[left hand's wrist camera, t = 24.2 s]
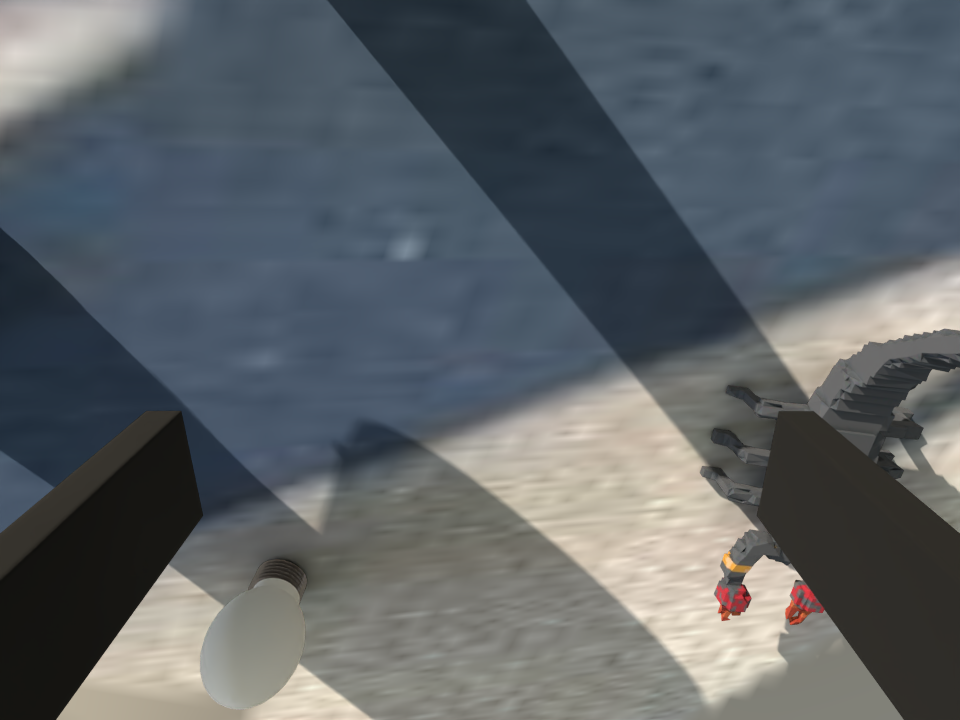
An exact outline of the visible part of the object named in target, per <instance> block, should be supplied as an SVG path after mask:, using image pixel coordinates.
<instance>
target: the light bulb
mask: <svg viewBox="0 0 960 720" xmlns="http://www.w3.org/2000/svg"><path fill="white" fill-rule="evenodd" d="M306 584H307V578H306V575H305V573H304V572H303V571H302V570H301V569H300V568H299V567H298V566H297V565H295V564H293V563H291V562H289V561H285V560H279V559H276V560H269V561H266V562H264V563H263V564H262V565H260V567H259V568H258V570H257V572H256V574H255V576H254V578H253V580H252V582H251V584H250V586H249V588H248V591H245V592H243V593H241V594H240V595H238V596H237V597H235V598H234V599H232V600H231V601H230V602H229V603H228V604H227V605H226V606H225V607H224V608H223V609H222V610H221V611H220V612H219V613H218V615H217V616H216V618H215V619H214V621H213V622H212V624H211V626H210V627H209V629H208V631H207V634H206V636H205V638H204V642H203V646H202V650H201V655H200V673H201V677H202V682H203V685H204V687H205V689H206V691H207V692H208V694H209V695H210V697H211V698H212V699H213V700H214V701H215V702H217V703H218V704H220V705H222V706H224V707H227V708H231V709H248V708H251V707H254V706H257V705H260V704H262V703H264V702H266V701H267V700H269V699H270V698H271V697H273V696H274V695H275V694H276V693H278V692H279V691H280V690H281V689H282V688H283V687H284V685H285V684H286V683H287V682H288V680H289V679H290V677H291V676H292V674H293V673H294V671H295V670H296V668H297V665H298V663H299V661H300V658H301V655H302V652H303V648H304V644H305V631H306V627H305V621H304V616H303V612H302V610H301V608H300V606H299V604H300V601H301V598H302V596H303V593H304V590H305V588H306Z"/></svg>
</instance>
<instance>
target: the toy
mask: <svg viewBox="0 0 960 720" xmlns="http://www.w3.org/2000/svg"><path fill="white" fill-rule="evenodd" d="M956 367H960V331H957V330H950V329H943V330H940V331H933V333H927V332H924V333H923V335H920V334H914V335H913V336H907V335H905V336H904V338H903V339H901V338H899V339H897V340H896V341H895V340H889V341H888V342H887V343H884V344H883V343H876V342H869V343H868V345H865V344H864V347H863V349H862V352H858V353H857V355H854V354H853V355H852V357H851V358H849V359H847V360H843V359H840V360H839V361H838V362H837V364H836V365H835V366H834V367H833V368H832V370H831V372H830V374H829V375H828V377H827V378H826V380H825V381H824V383H823V385H822V386H821V387H817V389H816V390H815V392H814V393H813V395H812V397H811V398H810V400H809V401H808V403H807V404H796V403H784V402H780V401H775V400H769V399H764V398H760V397H758V396H756V395H755V394H754V393H753V392H752V391H751V390H749V389H748V388H744V387H736V386H728V388H727V391H726V393H727V394H730V395H732V396H734V397H736V398H739V399H742V400H744V401H745V402H746V403H747V404H748V405H749V406H750V407H751V408H752V409H753V410H754V411H755V414H756V415H757V416H758V417H762V418H772V419H776V420H777V417H778V412H779V411H814V412H815V413H817V414H818V415H819V416H820V417H821V418H823V419H824V420H825V421H826V422H827V423H829V424H830V425H831V426H832V427H833V428H834V429H836V430H837V431H838V432H839V433H840V434H842V435H843V436H844V437H845V438H846V439H848V440H849V441H850V442H851V443H852V444H854V445H855V446H856V447H857V448H858V449H860V450H861V451H862V452H863V453H864V454H865V455H867V456H868V457H869V458H870V459H871V460H873V461H874V462H875V463H876V464H877V465H879V466H880V467H881V468H882V469H883V470H885V471H886V472H887V473H888V474H889V475H891V476H892V477H893V478H894V479H897V478H901V476H902V474H903V471H904V470H903V469H901V468H900V467H899V466H898V465H896V464H895V463H894V462H893V461H891V460H892V459H893V458H894V457H895V456H894V455H893V454H892V453H891V452H889V451H887V450H881V448H882V445H883V443H884V441H885V438H886V437H894V438H905V439H919V437H920V435H921V433H922V430H923V427H921V426H919V425H918V424H916V423H914V422H913V421H911V418H912V416H913V415H914V414H913V413H912V412H911V411H910V410H908V409H904V408H896V407H895V406H897V407H898V406H899V404H900V402H901V401H902V400H905V399H906V397H907V394H908V392H909V391H910V390H912V389H914V388H915V387H916V386H917V385H918V384H921V382H922V381H926V380H927V377H928V375H929V373H930V371H931V370H932V369H935V370H940V371H945V372H949V371H950V369H955V368H956ZM711 440H712V441H713V443H716V444H720V445H723V446H727V447H729V448H730V449H731V450H733V451H734V452H735V454H736V455H737V456H738V457H739V458H740V459H741V460H742V461H743V462H745V463H746V464H752V465H759V466H766V467H767V465H768V460H769V455H770V450H765V449H760V448H754V447H750V446H745V445H743V443H741V442H740V440H739V439H738V438H737V436H736V435H735V434H734V433H732V432H731V431H729V430H721V429H714V431H713V434H712V437H711ZM700 473H701V475H702V477H706V478H710V479H713V480H716V482H717V483H718V485H719V486H720V487H721V489H722V490H723V492H724V493H725V494H726V496H727V497H728V499H729V500H730V501H734V502H739V503H743V504H749V505H755V506H759V503H760V498H761V493H762V489H763V488H757V487H754V486H750V485H745V484H739V483H734V482H733V481H732V480H731V479H729V478H728V477H727V476H726V474H725V473H724V472H723V470H722V469H721V468H714V467H706V466H702V468H701V471H700ZM763 555H766V556H767V557H768V558H769V559H774V560H775V561H778V562H782V563H784V564H785V565H788V564H790V563H791V562H790V561H789V559H788V558H787V557H786V555H785V554H784V552H783V551H782V550H781V548H780V547H779V546H778V544H777V543H776V541H775V540H774V539H773V537H772V536H771V534H769V533H768V532H762V531H756V530H749V531H748V532H745V534H744V536H743V538H742V539H739V538H738V540H737V542H736V544H735V546H734V547H732V549H731V550H730V551H729V552H728V554H724V557H723V560H722V562H721V565H720V567H721V568H722V570H723V572H724V578H722V580H721V581H719V583H718V585H717V588H716V590H715V593H714V595H715V596H716V598H717V599H718V601H719V602H720V604H721V605H720V608H719V611H718V613H721V618H722V621H726V620H730V619H728V616H729V615H730V614H731V613H732V615H740V614H741V612H745V611H746V608H748V606H749V603H750V601H751V596H750V594H749V592H748V591H747V589H746V587H745V585H742V581H743V579H744V577H745V574H746V573H747V572H748V571H749V570H750V569H751V568H752V566H753V565H754V564H755V563H756V562H757V561H758V560H759V559H760V558H761V557H762V556H763ZM790 597H791V598H792V600H791V603H790V606H789V607H788V608H787V609H786V612H785V615H786V619H788V618H789V621H790V625H796V624H799V623H801V622H802V621H803V620H804V619H805V618H806V617H807V615H809V614H810V613H812V612H818V613H823V611H824V608H823V607H822V605H821V604H820V602H819V601H818V600H817V598H816V597H815V595H814V594H813V593H812V591H811V590H810V589H809V587H808V586H807V584H806V583H805V582H804V580H803V581H800V580H795V584H794V587H793V589H792V592H791V594H790ZM797 611H799V613H798V616H796V617H792V616H793V615H794V614H795V613H796V612H797Z"/></svg>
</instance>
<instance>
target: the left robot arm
mask: <svg viewBox="0 0 960 720" xmlns="http://www.w3.org/2000/svg"><path fill="white" fill-rule="evenodd" d="M202 516H203V513H202V508H201V503H200V498H199V493H198V489H197V484H196V479H195V474H194V470H193V465H192V460H191V455H190V450H189V446H188V441H187V436H186V431H185V427H184V422H183V417H182V412H181V411H146V412H145V413H143V414H142V415H141V416H140V417H139V418H137V419H136V420H135V421H134V422H133V423H131V424H130V425H129V426H128V427H127V428H126V429H124V430H123V431H122V432H121V433H120V434H118V435H117V436H116V437H115V438H114V439H112V440H111V441H110V442H109V443H108V444H106V445H105V446H104V447H103V448H102V449H100V450H99V451H98V452H97V453H96V454H95V455H93V456H92V457H91V458H90V459H89V460H87V461H86V462H85V463H84V464H83V465H81V466H80V467H79V468H78V469H77V470H75V471H74V472H73V473H72V474H71V475H69V476H68V477H67V478H66V479H65V480H64V481H62V482H61V483H60V484H59V485H58V486H56V487H55V488H54V489H53V490H52V491H50V492H49V493H48V494H47V495H46V496H44V497H43V498H42V499H41V500H40V501H38V502H37V503H36V504H35V505H34V506H33V507H31V508H30V509H29V510H28V511H27V512H25V513H24V514H23V515H22V516H21V517H19V518H18V519H17V520H16V521H15V522H13V523H12V524H11V525H10V526H9V527H7V528H6V529H5V530H4V531H3V532H1V533H0V720H56V719H57V718H58V716H59V715H60V713H61V712H62V711H63V709H64V708H65V706H66V705H67V704H68V702H69V701H70V700H71V698H72V697H73V695H74V694H75V693H76V691H77V690H78V688H79V687H80V686H81V684H82V683H83V682H84V680H85V679H86V677H87V676H88V675H89V673H90V672H91V670H92V669H93V668H94V666H95V665H96V663H97V662H98V661H99V659H100V658H101V657H102V655H103V654H104V652H105V651H106V650H107V648H108V647H109V645H110V644H111V643H112V641H113V640H114V639H115V637H116V636H117V634H118V633H119V632H120V630H121V629H122V627H123V626H124V625H125V623H126V622H127V620H128V619H129V618H130V616H131V615H132V614H133V612H134V611H135V609H136V608H137V607H138V605H139V604H140V602H141V601H142V600H143V598H144V597H145V595H146V594H147V593H148V591H149V590H150V589H151V587H152V586H153V584H154V583H155V582H156V580H157V579H158V577H159V576H160V575H161V573H162V572H163V571H164V569H165V568H166V566H167V565H168V564H169V562H170V561H171V559H172V558H173V557H174V555H175V554H176V552H177V551H178V550H179V548H180V547H181V546H182V544H183V543H184V541H185V540H186V539H187V537H188V536H189V534H190V533H191V532H192V530H193V529H194V527H195V526H196V525H197V523H198V522H199V521H200V519H201V518H202ZM757 516H758V518H759V519H760V521H761V522H762V523H763V525H764V526H765V527H766V529H767V530H768V532H769V533H770V534H771V536H772V537H773V539H774V540H775V541H776V543H777V544H778V546H779V547H780V548H781V550H782V551H783V552H784V554H785V555H786V557H787V558H788V559H789V561H790V562H791V564H792V565H793V566H794V568H795V569H796V571H797V572H798V573H799V575H800V576H801V577H802V579H803V580H804V582H805V583H806V584H807V586H808V587H809V589H810V590H811V591H812V593H813V594H814V595H815V597H816V598H817V600H818V601H819V602H820V604H821V605H822V607H823V608H824V609H825V611H826V612H827V614H828V615H829V616H830V618H831V619H832V620H833V622H834V623H835V625H836V626H837V627H838V629H839V630H840V632H841V633H842V634H843V636H844V637H845V639H846V640H847V641H848V643H849V644H850V645H851V647H852V648H853V650H854V651H855V652H856V654H857V655H858V657H859V658H860V659H861V661H862V662H863V663H864V665H865V666H866V668H867V669H868V670H869V672H870V673H871V675H872V676H873V677H874V679H875V680H876V681H877V683H878V684H879V686H880V687H881V688H882V690H883V691H884V693H885V694H886V695H887V697H888V698H889V700H890V701H891V702H892V704H893V705H894V706H895V708H896V709H897V711H898V712H899V713H900V715H901V716H902V718H903V719H904V720H960V533H959V532H957V531H956V530H955V529H954V528H953V527H951V526H950V525H949V524H948V523H947V522H945V521H944V520H943V519H942V518H941V517H939V516H938V515H937V514H936V513H935V512H933V511H932V510H931V509H930V508H929V507H927V506H926V505H925V504H924V503H923V502H922V501H920V500H919V499H918V498H917V497H916V496H914V495H913V494H912V493H911V492H910V491H908V490H907V489H906V488H905V487H904V486H902V485H901V484H900V483H899V482H898V481H896V480H895V479H894V478H893V477H892V476H891V475H889V474H888V473H887V472H886V471H885V470H883V469H882V468H881V467H880V466H879V465H877V464H876V463H875V462H874V461H873V460H871V459H870V458H869V457H868V456H867V455H865V454H864V453H863V452H862V451H861V450H860V449H858V448H857V447H856V446H855V445H854V444H852V443H851V442H850V441H849V440H848V439H846V438H845V437H844V436H843V435H842V434H840V433H839V432H838V431H837V430H836V429H834V428H833V427H832V426H831V425H830V424H829V423H827V422H826V421H825V420H824V419H823V418H821V417H820V416H819V415H818V414H817V413H815V412H814V411H779V412H778V417H777V422H776V427H775V431H774V436H773V441H772V446H771V450H770V455H769V460H768V465H767V470H766V474H765V479H764V484H763V489H762V493H761V498H760V503H759V508H758V513H757Z"/></svg>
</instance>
